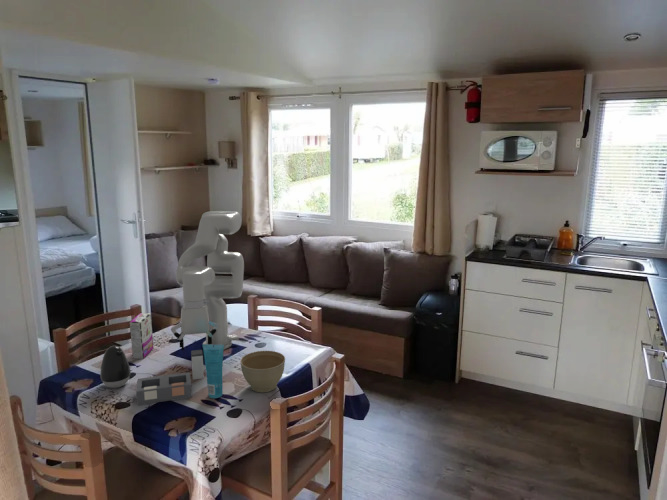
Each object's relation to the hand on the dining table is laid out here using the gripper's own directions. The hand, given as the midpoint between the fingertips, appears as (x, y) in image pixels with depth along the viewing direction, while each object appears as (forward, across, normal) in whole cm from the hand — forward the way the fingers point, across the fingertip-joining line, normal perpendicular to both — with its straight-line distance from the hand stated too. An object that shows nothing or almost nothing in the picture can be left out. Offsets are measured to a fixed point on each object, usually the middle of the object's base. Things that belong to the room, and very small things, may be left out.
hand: (196, 347), depth 187 cm
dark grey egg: (+13, +29, -3) cm, 31 cm away
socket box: (+13, +12, +10) cm, 20 cm away
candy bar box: (+12, +21, -30) cm, 38 cm away
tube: (+13, -5, +16) cm, 21 cm away
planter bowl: (+13, -23, +15) cm, 30 cm away
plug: (+12, 0, -1) cm, 12 cm away
